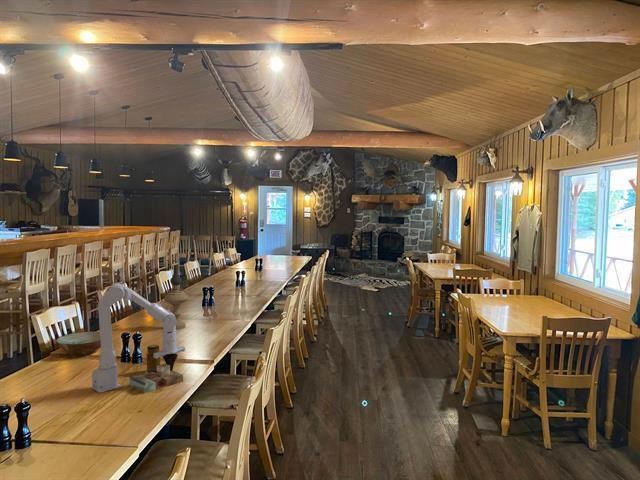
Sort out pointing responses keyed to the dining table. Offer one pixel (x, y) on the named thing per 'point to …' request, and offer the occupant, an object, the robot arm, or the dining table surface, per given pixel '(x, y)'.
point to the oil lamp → (176, 298)
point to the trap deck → (154, 381)
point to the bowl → (80, 342)
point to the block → (163, 370)
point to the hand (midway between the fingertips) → (170, 370)
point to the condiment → (152, 359)
